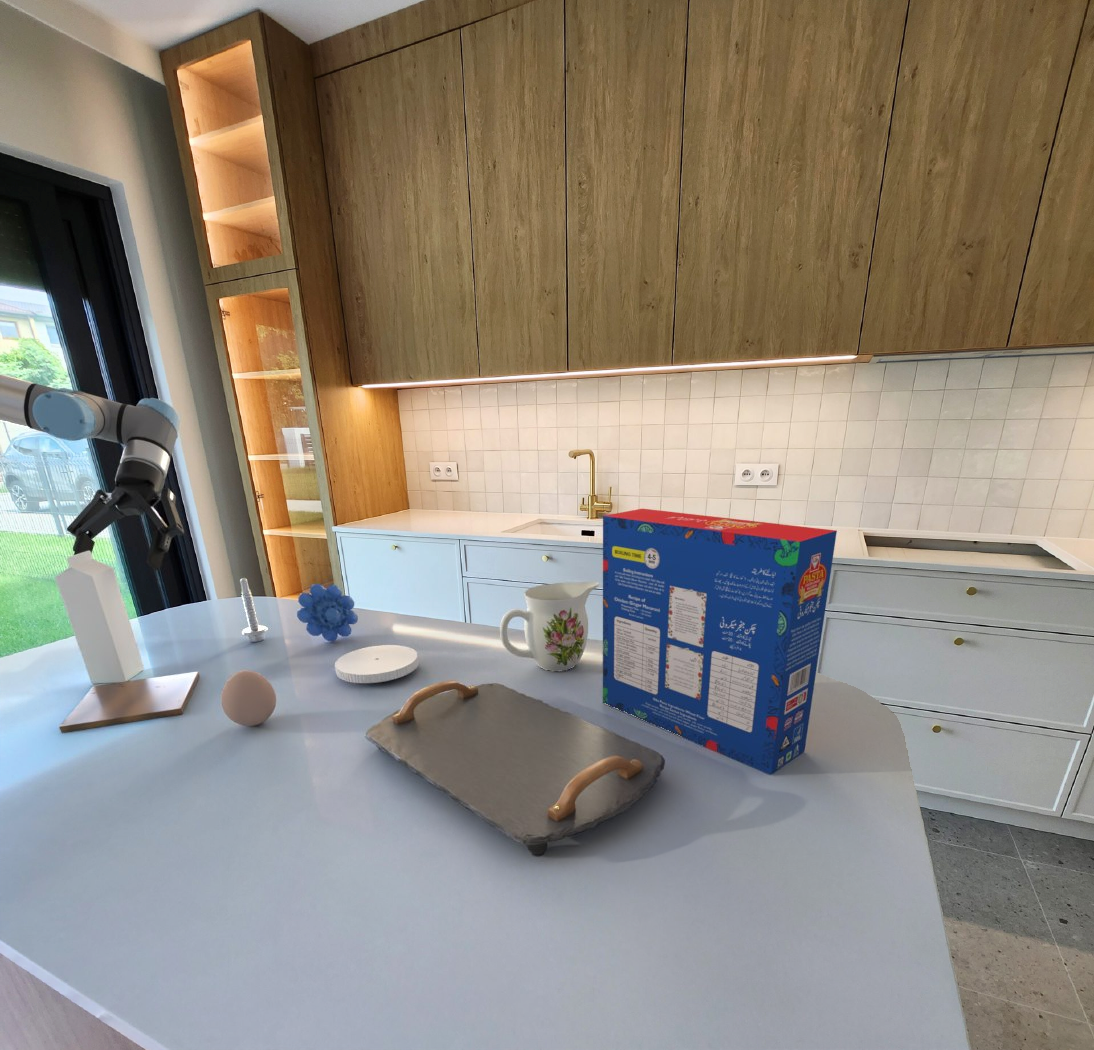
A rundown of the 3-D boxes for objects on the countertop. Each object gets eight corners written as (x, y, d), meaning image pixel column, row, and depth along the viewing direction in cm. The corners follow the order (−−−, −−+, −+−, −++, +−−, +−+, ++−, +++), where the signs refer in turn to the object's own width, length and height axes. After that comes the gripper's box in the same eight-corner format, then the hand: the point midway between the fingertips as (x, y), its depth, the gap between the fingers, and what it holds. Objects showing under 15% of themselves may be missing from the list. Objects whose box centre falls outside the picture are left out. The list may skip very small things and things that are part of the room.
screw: (271, 635, 130) (267, 642, 125) (246, 637, 129) (241, 645, 124) (258, 573, 124) (253, 579, 120) (232, 575, 124) (226, 581, 119)
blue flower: (310, 653, 118) (299, 592, 114) (299, 644, 123) (287, 585, 119) (368, 639, 125) (359, 581, 120) (355, 631, 130) (346, 575, 125)
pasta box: (804, 751, 79) (836, 530, 68) (770, 775, 75) (799, 541, 64) (637, 688, 99) (642, 508, 88) (602, 703, 94) (602, 515, 83)
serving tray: (352, 744, 85) (345, 703, 83) (486, 692, 99) (483, 656, 97) (546, 883, 59) (544, 829, 56) (689, 785, 73) (692, 738, 71)
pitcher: (494, 662, 111) (488, 587, 106) (586, 647, 117) (585, 575, 111) (512, 685, 101) (507, 604, 96) (612, 667, 107) (612, 590, 102)
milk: (144, 669, 114) (109, 549, 105) (125, 682, 108) (86, 556, 100) (110, 671, 114) (72, 550, 105) (90, 684, 108) (47, 558, 100)
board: (61, 732, 91) (58, 726, 91) (95, 691, 105) (93, 685, 105) (182, 714, 96) (180, 708, 95) (199, 676, 110) (198, 671, 109)
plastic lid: (348, 696, 100) (346, 681, 99) (328, 668, 111) (326, 655, 110) (430, 676, 106) (429, 662, 105) (404, 652, 117) (402, 639, 116)
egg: (285, 726, 91) (273, 673, 87) (231, 740, 87) (217, 686, 84) (276, 708, 96) (264, 658, 93) (225, 721, 93) (211, 669, 90)
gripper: (217, 482, 122) (196, 576, 114) (92, 486, 122) (63, 580, 115) (196, 455, 115) (171, 553, 107) (64, 460, 116) (30, 558, 108)
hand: (115, 567), depth 111 cm, fingers open, 13 cm apart
